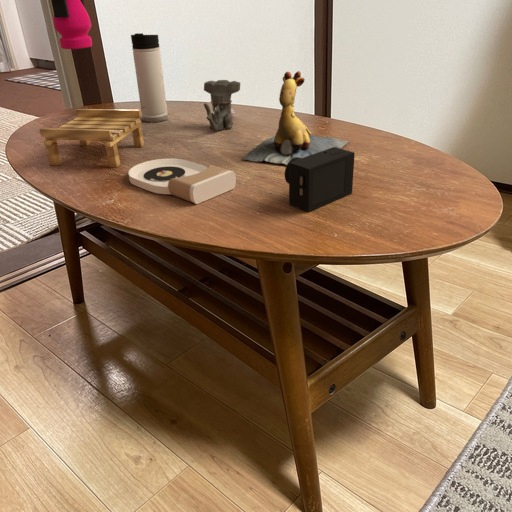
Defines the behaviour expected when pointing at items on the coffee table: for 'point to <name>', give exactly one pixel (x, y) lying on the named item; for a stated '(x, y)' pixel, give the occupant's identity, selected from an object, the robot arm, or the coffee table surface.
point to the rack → (96, 132)
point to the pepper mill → (74, 27)
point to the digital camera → (320, 178)
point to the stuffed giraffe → (291, 132)
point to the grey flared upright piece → (220, 103)
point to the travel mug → (149, 77)
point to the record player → (182, 179)
